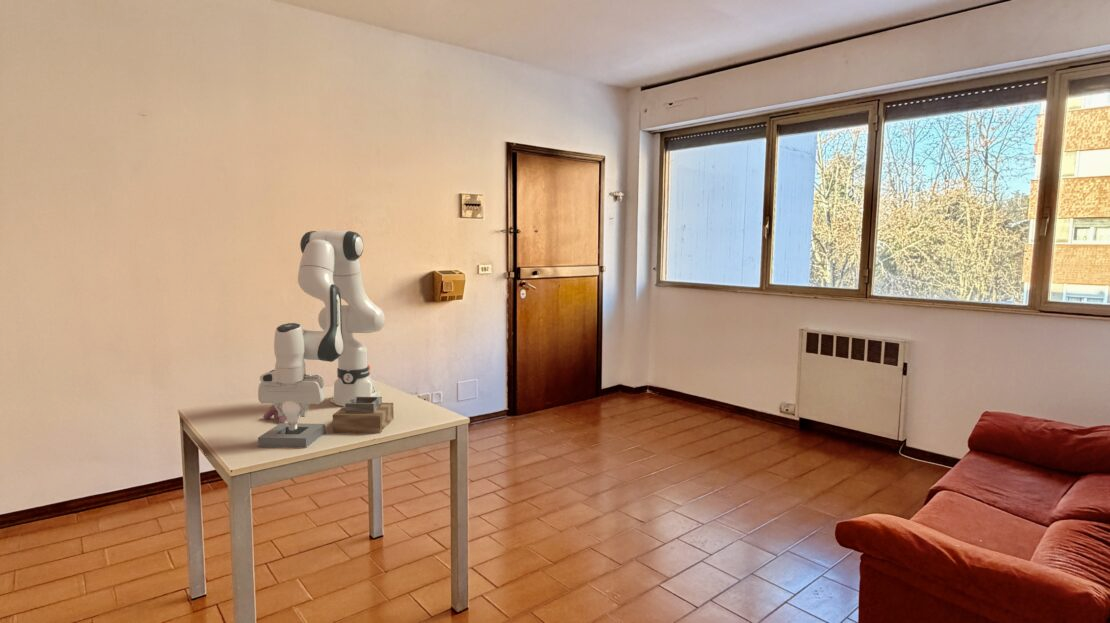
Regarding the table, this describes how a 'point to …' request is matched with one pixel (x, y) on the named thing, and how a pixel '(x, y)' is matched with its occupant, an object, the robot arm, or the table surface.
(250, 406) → the table surface
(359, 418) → the raised socket stand
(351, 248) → the robot arm
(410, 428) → the table surface
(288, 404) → the lightbulb
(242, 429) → the table surface
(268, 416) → the video game controller
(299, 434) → the low socket block
